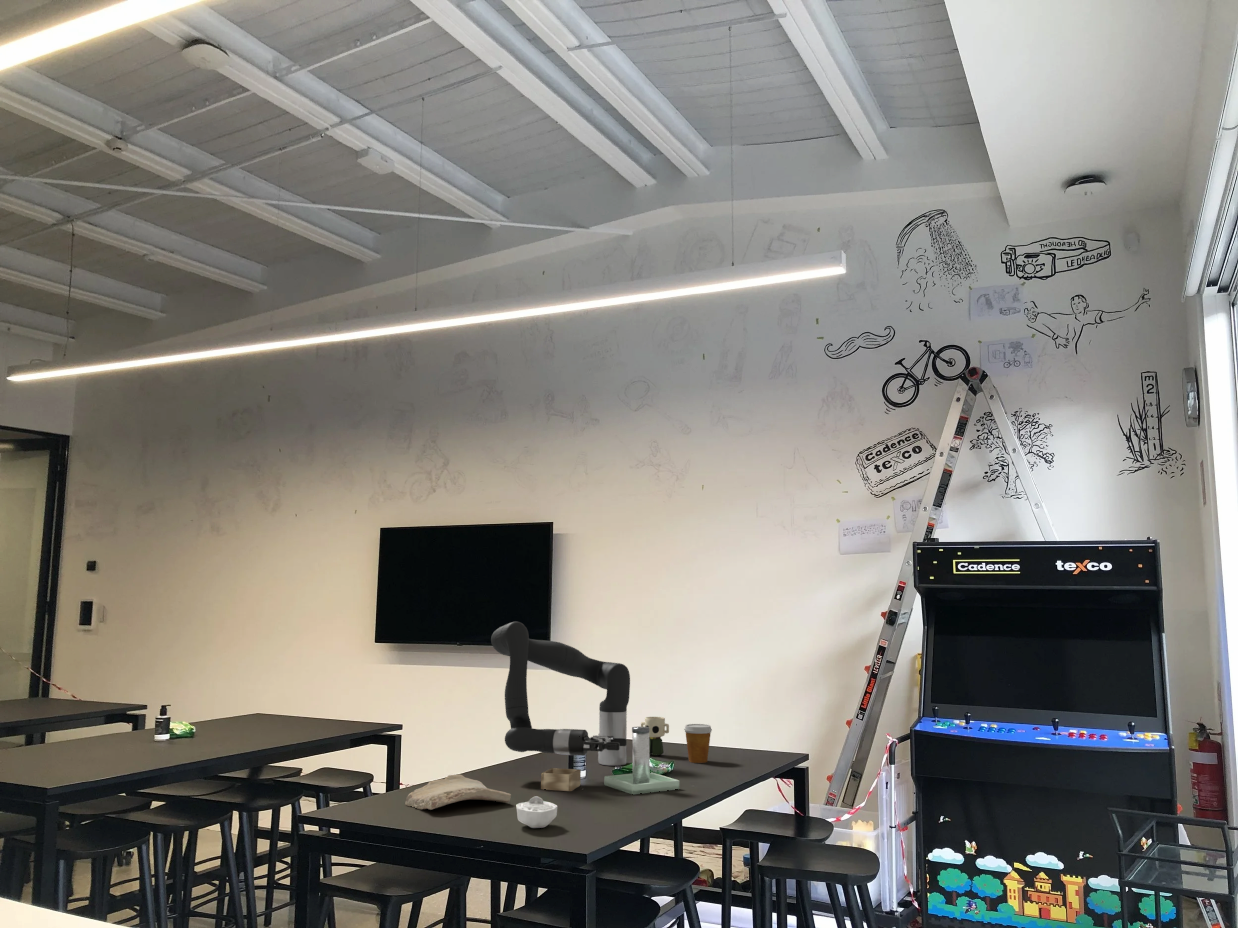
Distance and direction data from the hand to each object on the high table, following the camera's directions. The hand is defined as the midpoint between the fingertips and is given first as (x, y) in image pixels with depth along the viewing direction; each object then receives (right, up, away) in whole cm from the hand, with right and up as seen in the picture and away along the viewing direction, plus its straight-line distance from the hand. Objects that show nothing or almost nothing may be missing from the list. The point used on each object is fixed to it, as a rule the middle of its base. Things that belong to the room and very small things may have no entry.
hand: (622, 744), depth 289 cm
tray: (+5, -12, -3) cm, 13 cm away
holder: (-18, -11, -4) cm, 22 cm away
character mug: (+11, -20, +55) cm, 59 cm away
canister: (+5, -11, -3) cm, 12 cm away
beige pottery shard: (-45, -8, -28) cm, 54 cm away
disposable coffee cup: (+26, -18, +42) cm, 53 cm away
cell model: (-21, -5, -53) cm, 58 cm away
